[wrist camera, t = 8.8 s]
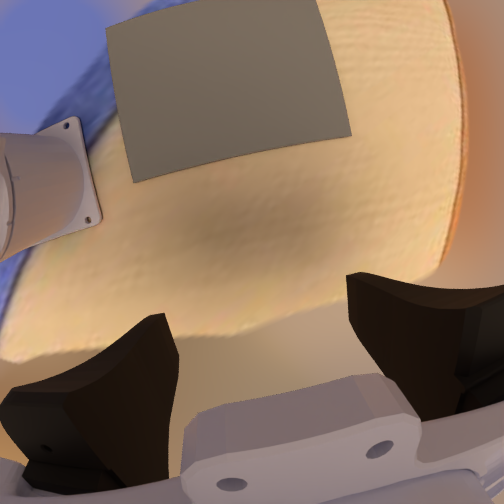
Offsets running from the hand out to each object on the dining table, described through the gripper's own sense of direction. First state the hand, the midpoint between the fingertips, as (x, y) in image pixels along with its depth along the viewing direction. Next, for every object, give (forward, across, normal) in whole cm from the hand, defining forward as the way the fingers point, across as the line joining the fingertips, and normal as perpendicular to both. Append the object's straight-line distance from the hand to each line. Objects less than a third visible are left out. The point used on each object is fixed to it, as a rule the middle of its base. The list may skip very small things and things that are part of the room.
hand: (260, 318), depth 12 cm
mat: (+10, -1, -12) cm, 16 cm away
